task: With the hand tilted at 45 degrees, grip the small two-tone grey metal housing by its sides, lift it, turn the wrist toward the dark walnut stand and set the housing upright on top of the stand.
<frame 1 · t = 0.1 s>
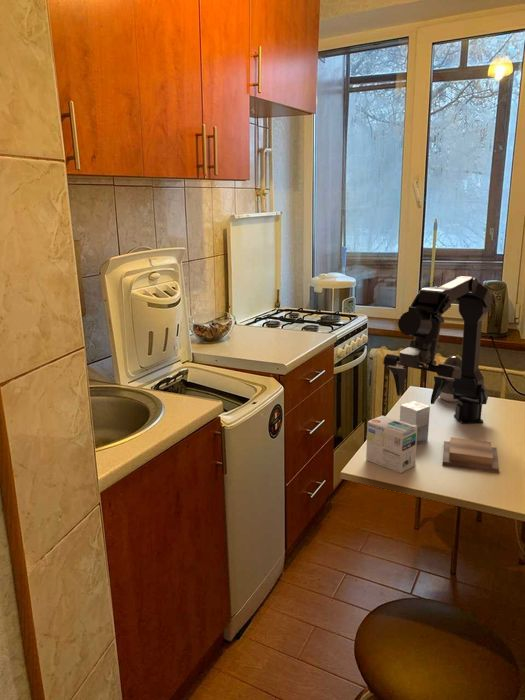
hand: (415, 399, 136), 15 cm above the table, tool pointing down, fingers open, 9 cm apart
walnut stand: (469, 458, 138), on the table
light bulb box: (390, 463, 136), on the table
pump dispenser: (451, 400, 181), on the table
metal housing: (413, 439, 150), on the table
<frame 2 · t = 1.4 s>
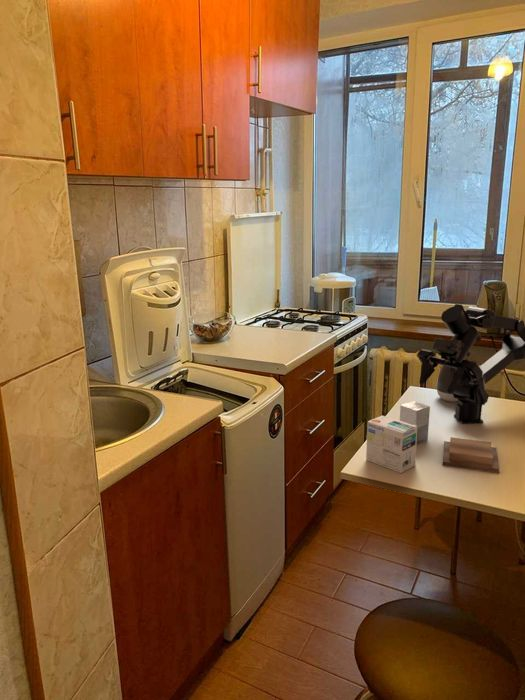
hand: (433, 388, 151), 13 cm above the table, tool tilted 45°, fingers open, 9 cm apart
nothing on the table moved.
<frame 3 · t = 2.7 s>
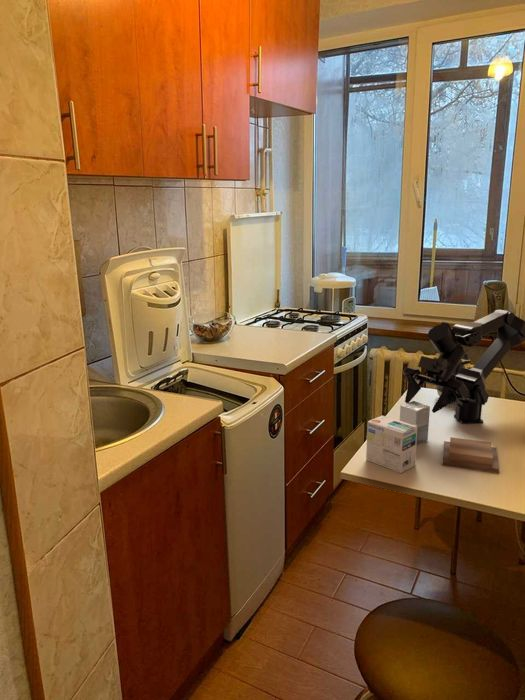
hand: (419, 407, 148), 9 cm above the table, tool tilted 45°, fingers open, 9 cm apart
nothing on the table moved.
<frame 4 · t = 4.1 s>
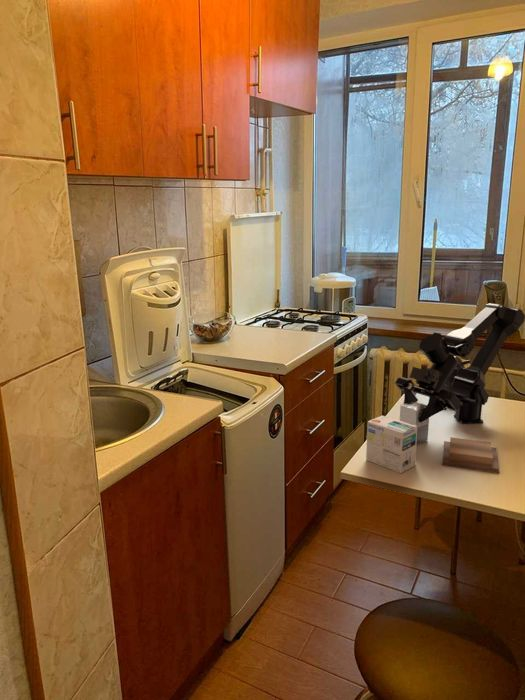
hand: (411, 418, 147), 7 cm above the table, tool tilted 45°, fingers closed on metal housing, 5 cm apart
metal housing: (413, 439, 150), on the table, touching gripper
everything else where it was.
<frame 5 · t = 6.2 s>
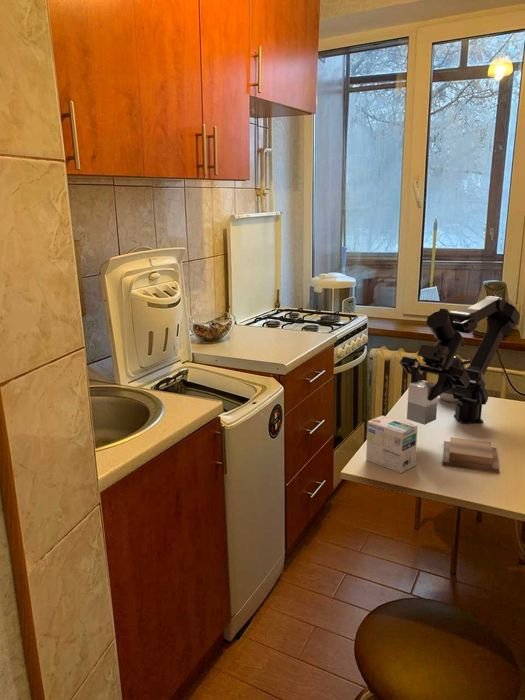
hand: (419, 397, 143), 14 cm above the table, tool tilted 45°, fingers closed on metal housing, 5 cm apart
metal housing: (421, 419, 146), point 7 cm above the table, touching gripper
everything else where it was.
when the fingers open (11 cm above the table, at t = 8.3 s): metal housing drops 1 cm, resting on walnut stand.
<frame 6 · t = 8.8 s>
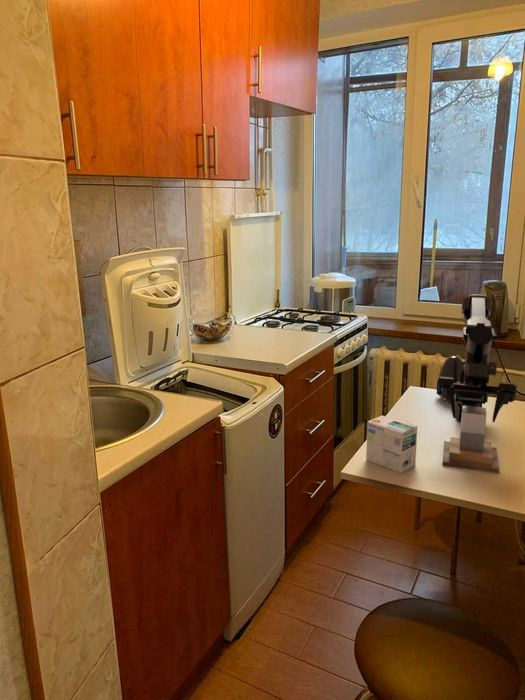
hand: (473, 419, 134), 11 cm above the table, tool tilted 45°, fingers open, 9 cm apart
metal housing: (470, 447, 138), point 3 cm above the table, touching walnut stand
everything else where it was.
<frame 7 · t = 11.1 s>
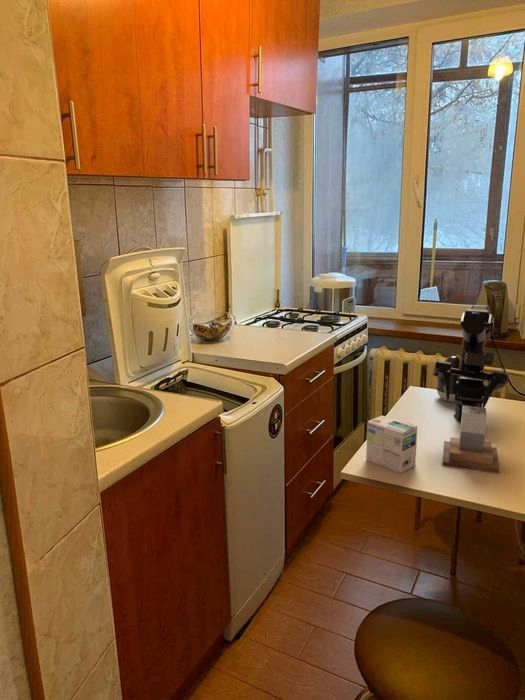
hand: (465, 403, 144), 11 cm above the table, tool tilted 35°, fingers open, 9 cm apart
nothing on the table moved.
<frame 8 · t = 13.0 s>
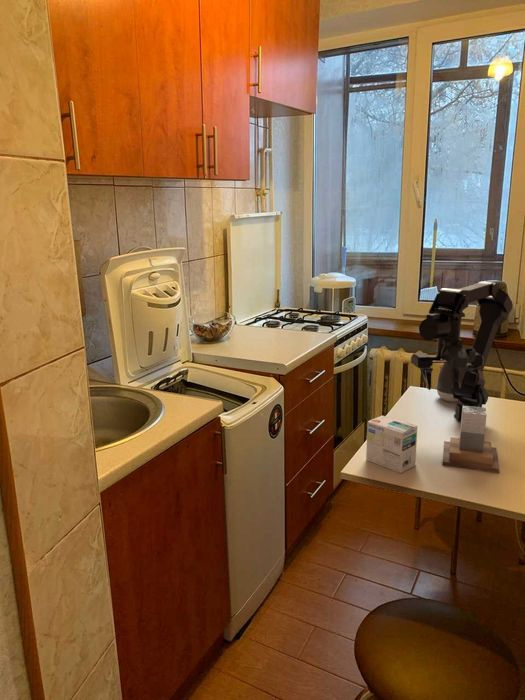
hand: (444, 388, 151), 13 cm above the table, tool pointing down, fingers open, 9 cm apart
nothing on the table moved.
at the end: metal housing inside the target area on the walnut stand (0.0 cm from its centre), point 3.0 cm above the walnut stand's base; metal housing tilted 0°; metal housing touching walnut stand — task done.
